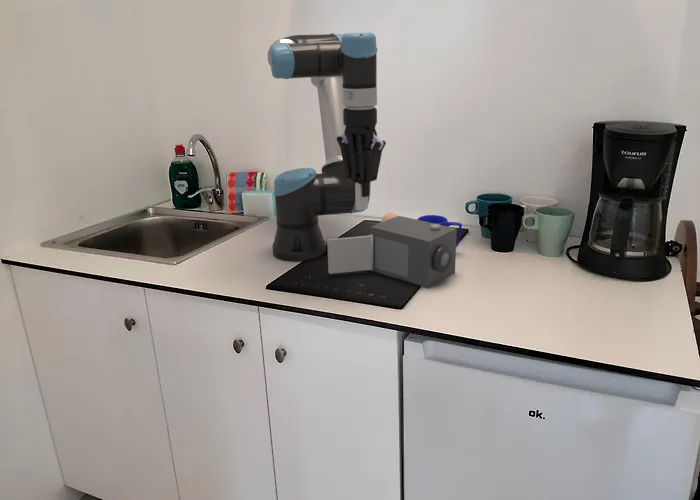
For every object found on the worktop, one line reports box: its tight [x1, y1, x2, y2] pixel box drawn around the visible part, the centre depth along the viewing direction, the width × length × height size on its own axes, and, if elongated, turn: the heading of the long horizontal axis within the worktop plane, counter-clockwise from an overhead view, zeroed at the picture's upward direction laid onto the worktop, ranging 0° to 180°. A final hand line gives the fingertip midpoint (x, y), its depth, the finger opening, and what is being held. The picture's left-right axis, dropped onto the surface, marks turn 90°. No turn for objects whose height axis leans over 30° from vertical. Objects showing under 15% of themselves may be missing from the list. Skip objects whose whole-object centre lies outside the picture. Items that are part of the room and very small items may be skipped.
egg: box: [380, 211, 400, 223], centre depth 172 cm, size 7×7×8 cm
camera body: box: [369, 215, 458, 289], centre depth 145 cm, size 20×12×13 cm, turn 48°
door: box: [326, 233, 374, 275], centre depth 146 cm, size 12×2×10 cm, turn 100°
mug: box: [416, 214, 463, 248], centre depth 158 cm, size 8×12×10 cm
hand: (361, 208), depth 135 cm, fingers closed
